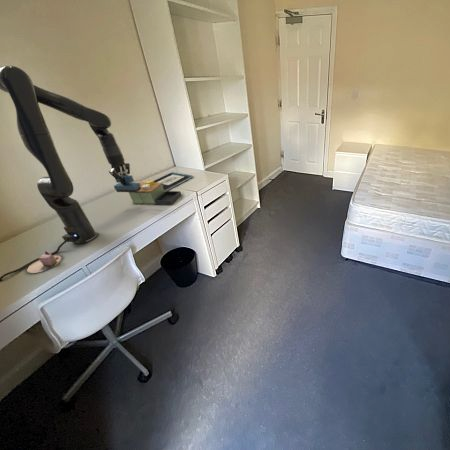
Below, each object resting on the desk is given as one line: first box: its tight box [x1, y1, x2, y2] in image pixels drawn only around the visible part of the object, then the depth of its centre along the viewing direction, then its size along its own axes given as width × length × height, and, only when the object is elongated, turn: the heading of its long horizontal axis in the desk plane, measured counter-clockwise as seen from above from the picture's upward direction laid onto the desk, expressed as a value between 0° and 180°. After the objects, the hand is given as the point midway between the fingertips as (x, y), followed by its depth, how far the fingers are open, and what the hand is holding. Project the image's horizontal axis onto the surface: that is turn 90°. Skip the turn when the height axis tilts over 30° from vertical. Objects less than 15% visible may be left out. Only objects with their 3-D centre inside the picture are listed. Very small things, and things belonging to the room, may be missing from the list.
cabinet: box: [128, 181, 165, 205], centre depth 163 cm, size 13×16×9 cm
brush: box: [113, 174, 141, 193], centre depth 146 cm, size 12×5×9 cm, turn 84°
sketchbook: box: [153, 171, 194, 191], centre depth 188 cm, size 22×30×2 cm
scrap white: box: [141, 184, 151, 190], centre depth 158 cm, size 4×4×2 cm
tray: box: [154, 190, 182, 206], centre depth 164 cm, size 13×10×3 cm
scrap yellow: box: [144, 179, 155, 186], centre depth 163 cm, size 4×4×2 cm
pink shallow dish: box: [26, 251, 62, 275], centre depth 114 cm, size 12×12×4 cm
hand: (126, 183), depth 146 cm, fingers closed on brush, 2 cm apart
